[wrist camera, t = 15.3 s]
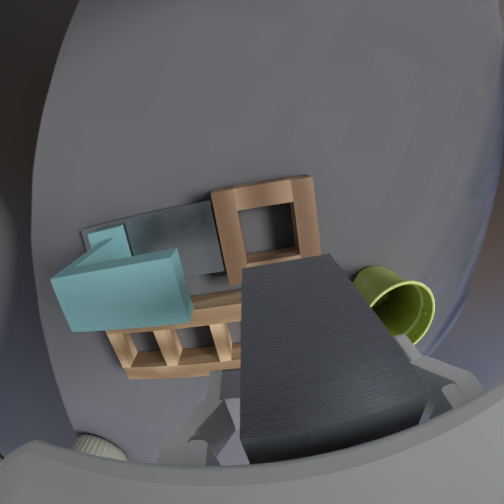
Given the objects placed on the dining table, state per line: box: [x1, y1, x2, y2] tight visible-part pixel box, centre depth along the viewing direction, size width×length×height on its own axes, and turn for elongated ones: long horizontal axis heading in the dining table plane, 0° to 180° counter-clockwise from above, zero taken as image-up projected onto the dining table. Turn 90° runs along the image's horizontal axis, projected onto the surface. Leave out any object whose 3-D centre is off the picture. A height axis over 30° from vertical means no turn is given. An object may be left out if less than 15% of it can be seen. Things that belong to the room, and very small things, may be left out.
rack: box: [105, 289, 242, 379], centre depth 34 cm, size 10×22×4 cm, turn 99°
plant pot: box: [352, 266, 435, 345], centre depth 30 cm, size 9×9×9 cm
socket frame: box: [81, 175, 321, 286], centre depth 30 cm, size 27×10×3 cm, turn 99°
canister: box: [69, 434, 128, 461], centre depth 37 cm, size 18×18×21 cm
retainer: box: [50, 224, 194, 332], centre depth 25 cm, size 13×7×12 cm, turn 99°
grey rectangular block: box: [240, 254, 430, 464], centre depth 11 cm, size 5×5×10 cm
